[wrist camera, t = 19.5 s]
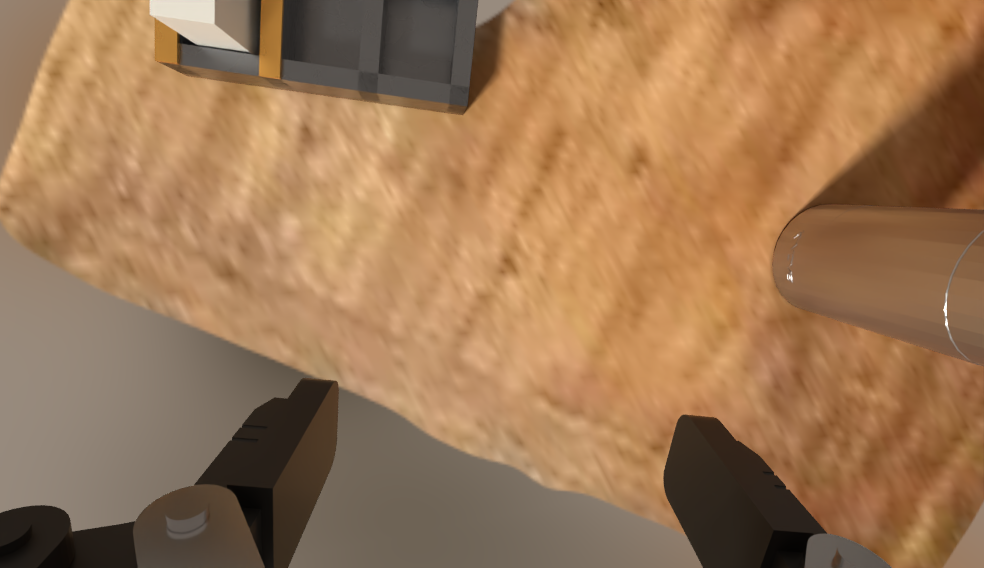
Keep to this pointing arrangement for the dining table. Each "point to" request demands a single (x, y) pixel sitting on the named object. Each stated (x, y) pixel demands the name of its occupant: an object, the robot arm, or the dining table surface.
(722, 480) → the robot arm
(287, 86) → the slot rack
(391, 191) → the dining table surface
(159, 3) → the white rectangular block
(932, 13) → the dining table surface
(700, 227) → the dining table surface
